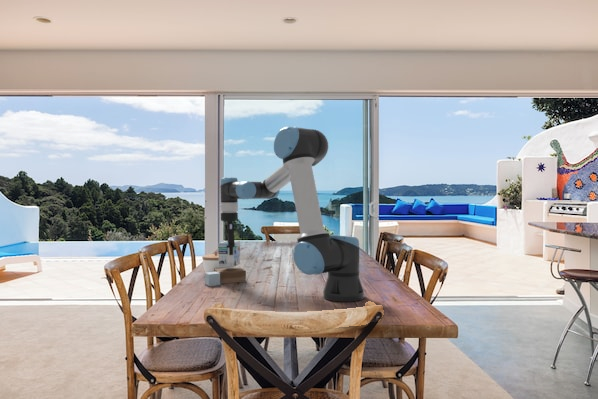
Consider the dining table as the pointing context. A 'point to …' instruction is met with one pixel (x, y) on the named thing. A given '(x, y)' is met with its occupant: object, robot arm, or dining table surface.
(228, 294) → the dining table surface
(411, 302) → the dining table surface
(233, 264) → the light bulb box
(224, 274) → the walnut block
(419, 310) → the dining table surface
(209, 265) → the lidded bowl
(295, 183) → the robot arm
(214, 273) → the slate cube
